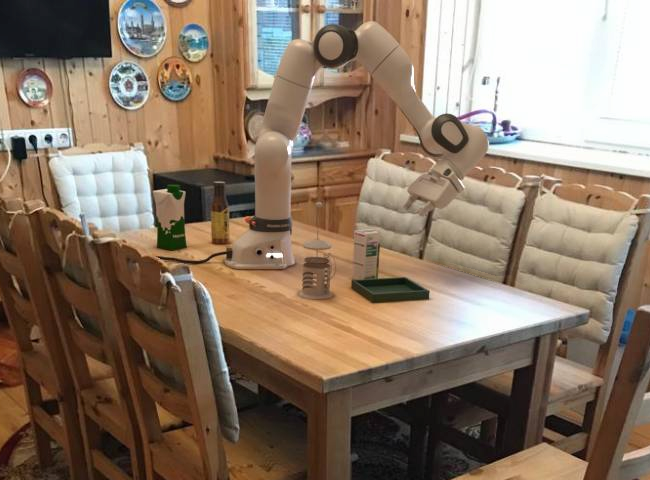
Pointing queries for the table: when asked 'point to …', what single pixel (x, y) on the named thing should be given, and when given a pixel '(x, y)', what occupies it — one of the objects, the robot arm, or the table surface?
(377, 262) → the syrup box
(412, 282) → the tray
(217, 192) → the sauce bottle
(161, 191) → the milk carton
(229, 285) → the table surface
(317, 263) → the french press
